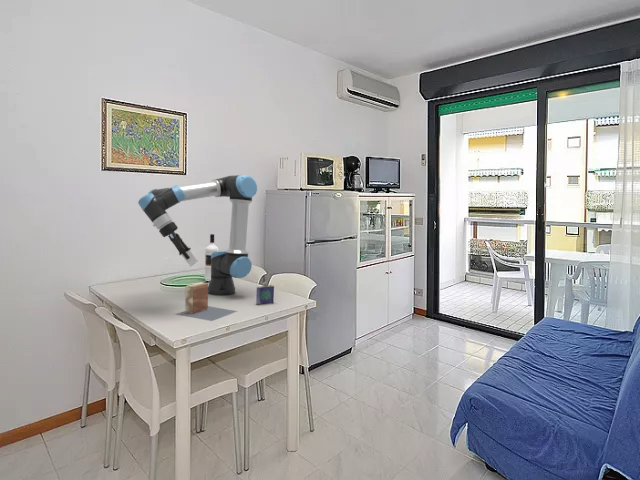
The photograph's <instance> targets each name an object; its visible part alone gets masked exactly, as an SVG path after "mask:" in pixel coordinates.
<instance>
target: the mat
mask: <svg viewBox="0 0 640 480" xmlns="http://www.w3.org/2000/svg"><path fill="white" fill-rule="evenodd" d="M237 312H238V311H237V310H234V309H227V308H221V307H216V306H215V307H214V306H209V305H208V309H206V310H203V311H200V312H197V313H194V314H190V313H185V310H184V311H181V312H177V313H176V315H177V316H182V317H183V316H184V317H186V318H187V317H188V318H193V319H199V320H205V321H209V322H212V321H216V320H219V319H221V318H224V317H226V316H229V315H231V314H232V315H233V314H234V313H237Z"/></svg>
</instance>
